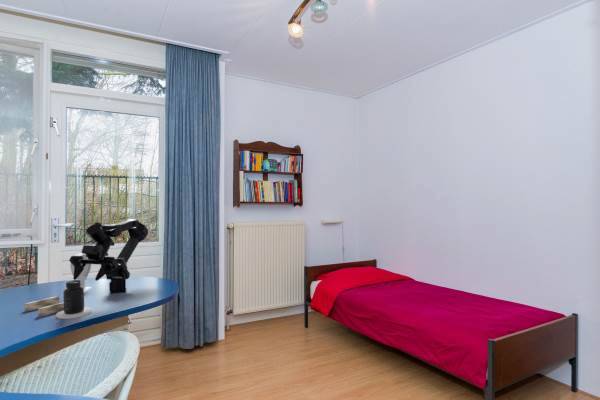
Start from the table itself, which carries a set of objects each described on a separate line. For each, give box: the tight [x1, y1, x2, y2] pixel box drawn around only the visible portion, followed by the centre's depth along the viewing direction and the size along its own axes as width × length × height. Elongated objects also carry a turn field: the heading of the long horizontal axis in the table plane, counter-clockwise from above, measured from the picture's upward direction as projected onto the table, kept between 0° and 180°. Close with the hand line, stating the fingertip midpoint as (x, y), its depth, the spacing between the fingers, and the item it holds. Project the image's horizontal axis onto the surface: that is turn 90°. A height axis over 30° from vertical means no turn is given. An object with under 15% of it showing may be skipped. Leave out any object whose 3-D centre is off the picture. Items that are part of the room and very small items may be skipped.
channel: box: [24, 295, 64, 318], centre depth 143 cm, size 12×12×3 cm
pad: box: [55, 306, 93, 320], centre depth 139 cm, size 12×12×1 cm
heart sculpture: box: [69, 251, 93, 294], centre depth 170 cm, size 16×5×18 cm, turn 10°
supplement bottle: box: [62, 279, 85, 314], centre depth 139 cm, size 7×7×12 cm
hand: (85, 279), depth 145 cm, fingers open, 9 cm apart
